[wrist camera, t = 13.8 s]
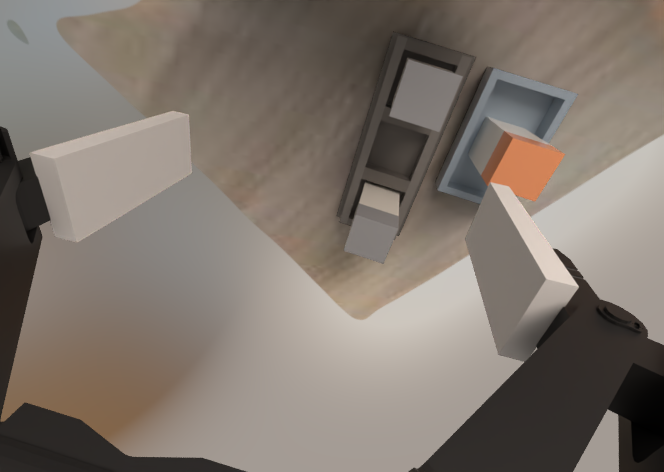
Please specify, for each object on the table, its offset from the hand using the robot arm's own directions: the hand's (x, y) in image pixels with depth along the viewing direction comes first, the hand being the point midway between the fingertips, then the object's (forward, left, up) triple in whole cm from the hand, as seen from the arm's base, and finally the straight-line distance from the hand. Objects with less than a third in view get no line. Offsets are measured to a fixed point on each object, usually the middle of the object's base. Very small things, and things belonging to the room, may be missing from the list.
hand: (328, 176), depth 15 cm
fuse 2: (-3, +4, -28) cm, 28 cm away
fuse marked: (+1, +15, -28) cm, 32 cm away
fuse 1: (+12, +4, -28) cm, 31 cm away
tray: (+1, +15, -29) cm, 33 cm away
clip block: (+5, +4, -29) cm, 30 cm away
